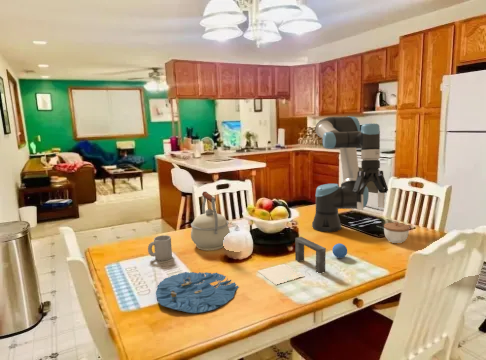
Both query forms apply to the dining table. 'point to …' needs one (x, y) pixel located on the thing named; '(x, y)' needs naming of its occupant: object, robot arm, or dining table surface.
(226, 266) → the dining table surface
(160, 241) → the cup
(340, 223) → the robot arm
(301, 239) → the bridge
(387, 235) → the white lidded pot
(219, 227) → the kettle
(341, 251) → the ball
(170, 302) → the blue cloth
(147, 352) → the dining table surface
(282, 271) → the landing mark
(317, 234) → the dining table surface
